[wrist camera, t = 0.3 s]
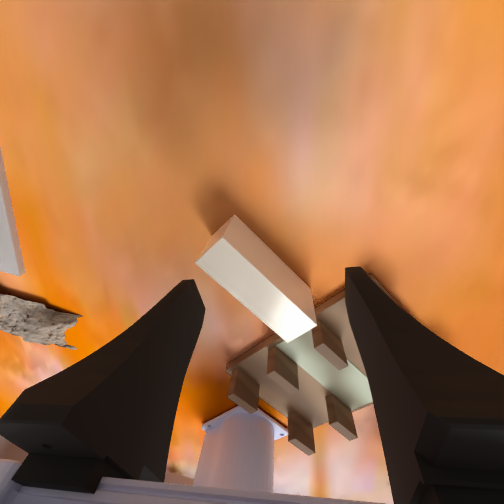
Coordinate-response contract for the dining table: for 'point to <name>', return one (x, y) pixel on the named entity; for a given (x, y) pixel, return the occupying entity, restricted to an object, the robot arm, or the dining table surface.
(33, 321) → the stone fragment
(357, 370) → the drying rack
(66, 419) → the robot arm
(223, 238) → the cream rectangular block
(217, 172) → the dining table surface
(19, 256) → the test tube rack
